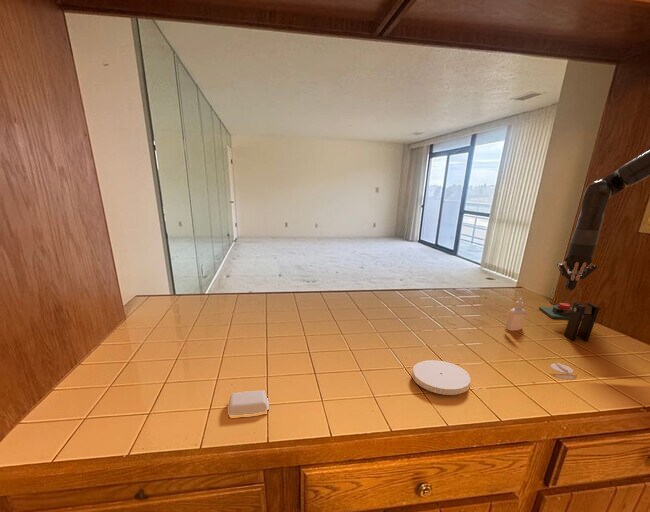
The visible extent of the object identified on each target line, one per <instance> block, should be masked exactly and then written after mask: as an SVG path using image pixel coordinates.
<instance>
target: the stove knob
mask: <svg viewBox="0 0 650 512" xmlns="http://www.w3.org/2000/svg"><path fill="white" fill-rule="evenodd" d="M549 367H550V368H551V370H553V371H555V372H557V373H549V375H550V376H552V377H554V378H557V379H559V380H566V381H573V380H576V379H577V376H578V375H577V374H573V373H574V370H573V368H571V367H570V366H568V365H565V364H562V363H560V362H556V363H552V364H550V366H549Z"/></svg>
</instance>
